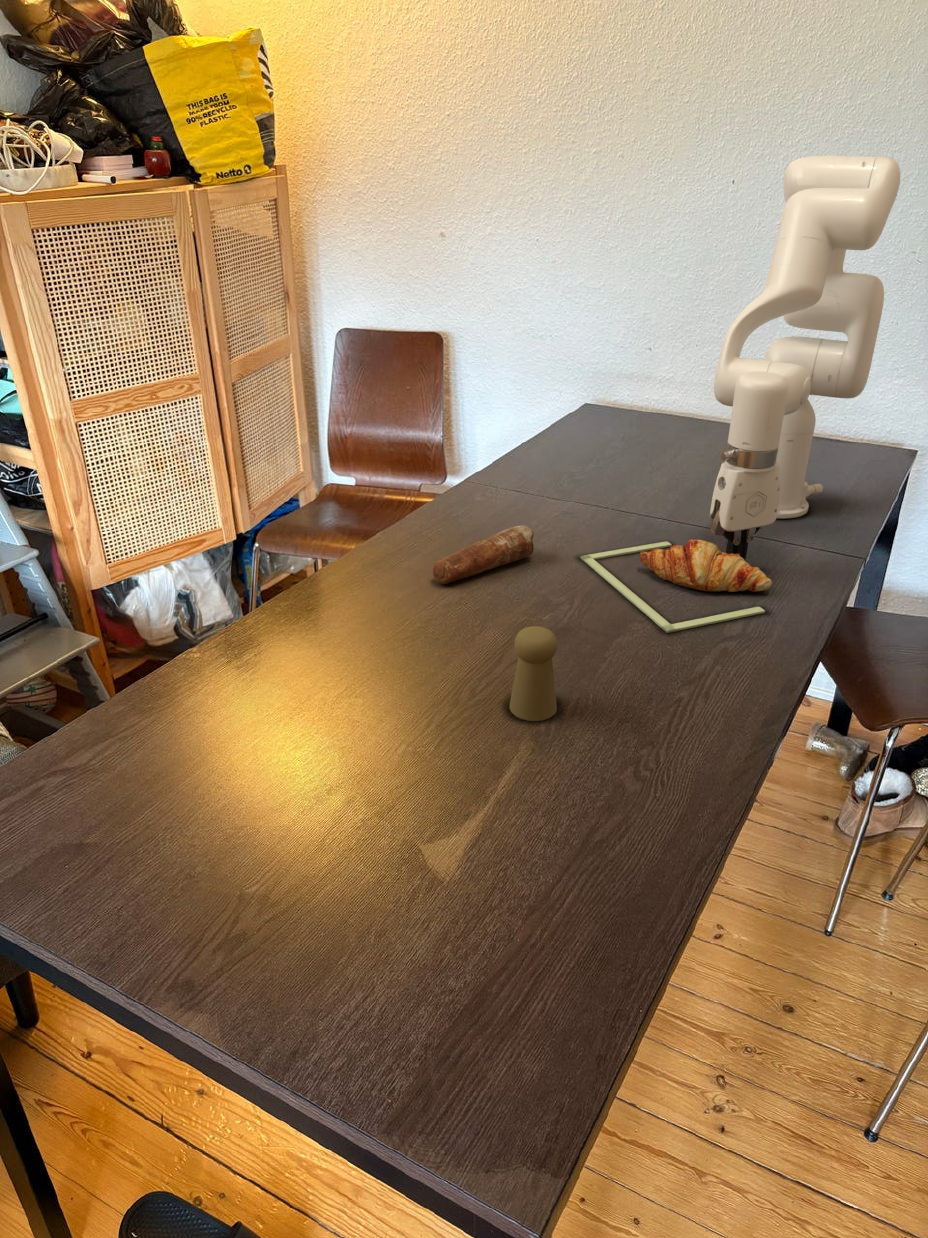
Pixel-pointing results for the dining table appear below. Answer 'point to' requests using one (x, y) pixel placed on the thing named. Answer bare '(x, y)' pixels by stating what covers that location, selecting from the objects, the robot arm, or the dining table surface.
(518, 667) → the tan game pawn
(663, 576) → the croissant
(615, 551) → the frame
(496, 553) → the bread
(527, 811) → the dining table surface
